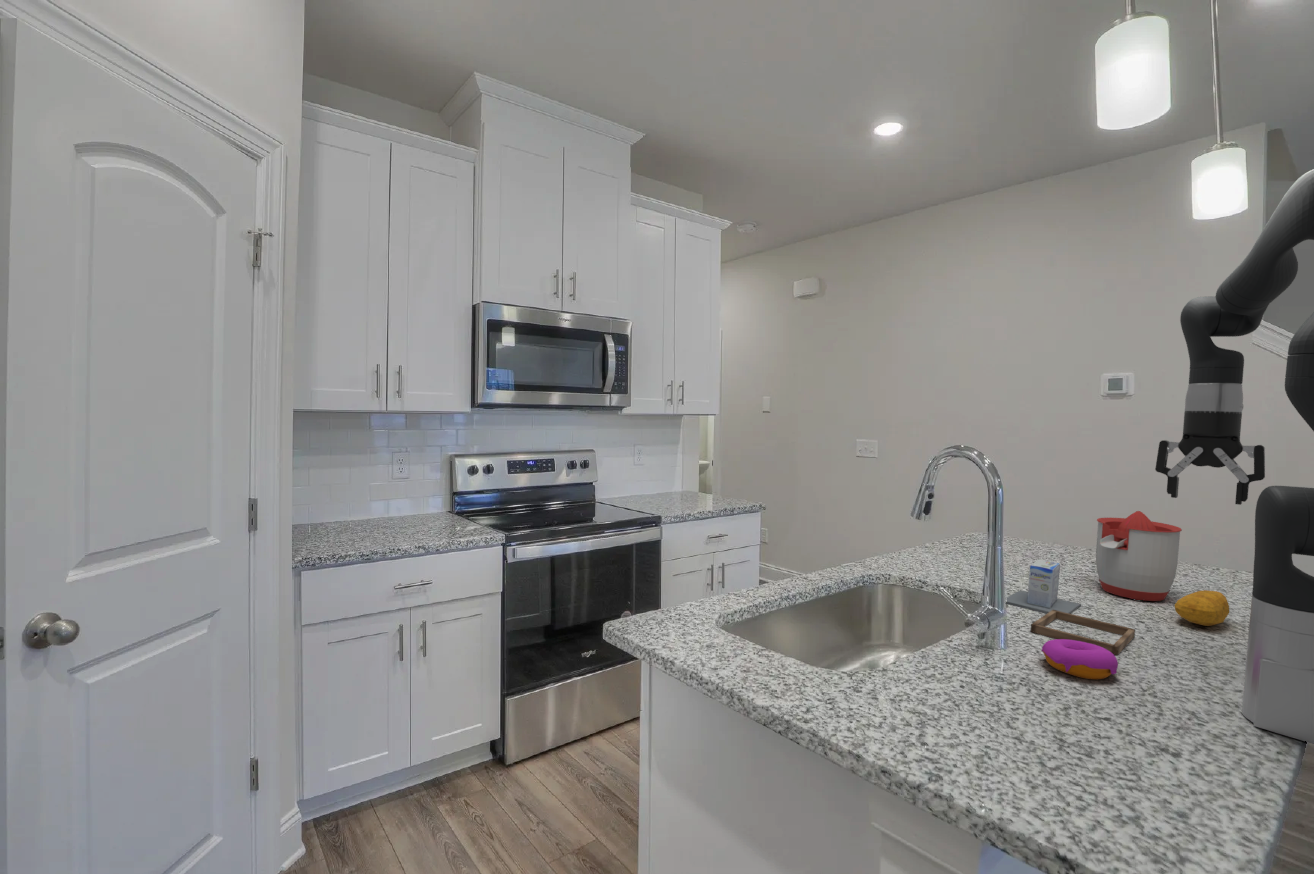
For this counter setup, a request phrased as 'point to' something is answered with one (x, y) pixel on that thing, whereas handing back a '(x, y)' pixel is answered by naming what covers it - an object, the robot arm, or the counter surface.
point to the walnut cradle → (1057, 634)
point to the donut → (1080, 658)
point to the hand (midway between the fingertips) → (1205, 500)
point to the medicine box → (1043, 583)
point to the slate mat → (1021, 601)
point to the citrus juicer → (1137, 556)
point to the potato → (1203, 607)
